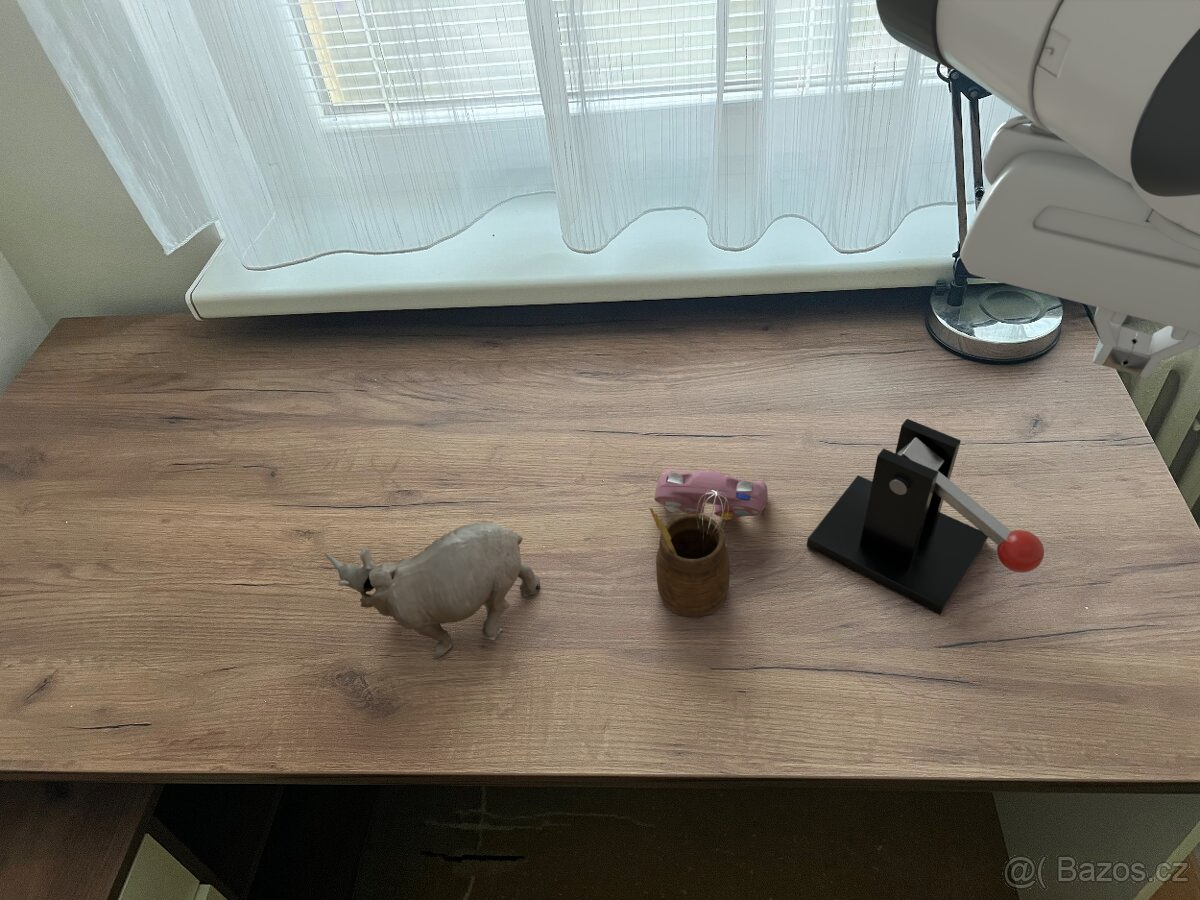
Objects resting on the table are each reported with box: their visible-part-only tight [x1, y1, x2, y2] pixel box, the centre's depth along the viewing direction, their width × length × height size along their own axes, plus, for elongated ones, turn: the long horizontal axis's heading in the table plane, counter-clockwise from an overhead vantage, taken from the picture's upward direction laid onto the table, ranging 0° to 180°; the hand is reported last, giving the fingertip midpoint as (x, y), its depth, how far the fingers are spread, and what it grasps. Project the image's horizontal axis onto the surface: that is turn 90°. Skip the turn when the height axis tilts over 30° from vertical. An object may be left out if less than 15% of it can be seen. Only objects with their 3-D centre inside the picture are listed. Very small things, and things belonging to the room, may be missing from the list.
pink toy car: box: [654, 469, 769, 521], centre depth 77 cm, size 10×5×7 cm
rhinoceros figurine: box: [324, 522, 541, 659], centre depth 70 cm, size 8×14×15 cm
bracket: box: [806, 418, 989, 616], centre depth 71 cm, size 12×9×12 cm
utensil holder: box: [648, 490, 731, 618], centre depth 69 cm, size 6×6×12 cm
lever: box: [898, 437, 1045, 574], centre depth 67 cm, size 13×3×3 cm, turn 52°
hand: (1121, 363), depth 49 cm, fingers closed
